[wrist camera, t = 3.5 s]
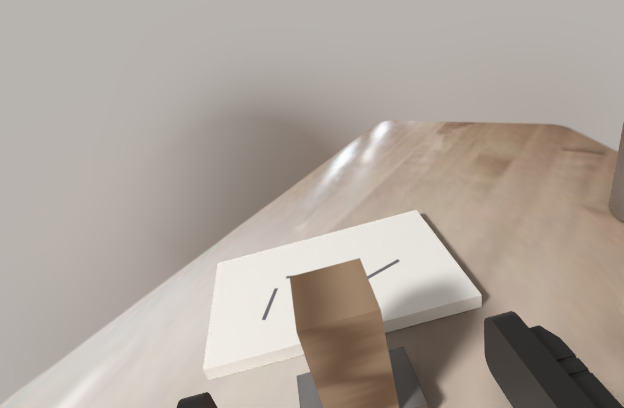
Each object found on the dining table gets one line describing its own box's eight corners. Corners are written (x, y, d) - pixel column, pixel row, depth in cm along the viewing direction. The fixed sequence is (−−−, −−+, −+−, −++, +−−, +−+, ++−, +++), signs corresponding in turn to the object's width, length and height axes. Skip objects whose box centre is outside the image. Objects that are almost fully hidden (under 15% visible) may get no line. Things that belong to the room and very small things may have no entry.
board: (417, 219, 49) (416, 209, 49) (481, 306, 35) (481, 294, 35) (221, 272, 49) (217, 262, 48) (208, 380, 35) (202, 370, 34)
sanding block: (405, 362, 32) (387, 250, 26) (429, 419, 28) (414, 300, 22) (302, 390, 32) (261, 284, 26) (309, 452, 28) (263, 341, 22)
